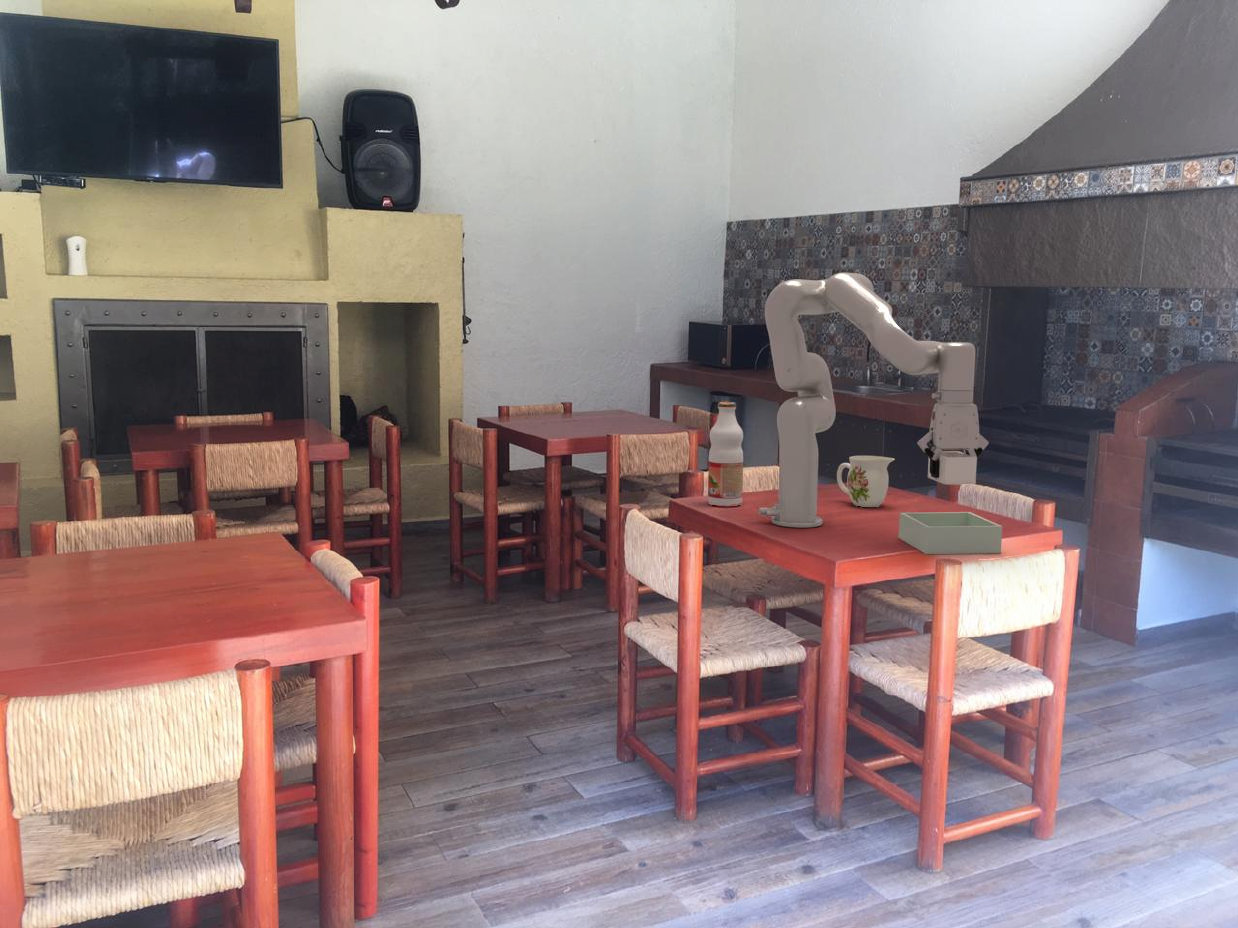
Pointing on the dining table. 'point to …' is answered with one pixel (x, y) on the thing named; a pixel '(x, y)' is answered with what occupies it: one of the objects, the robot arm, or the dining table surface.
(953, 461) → the small tote
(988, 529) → the big crate
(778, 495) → the robot arm
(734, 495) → the fruit juice
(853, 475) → the pitcher
